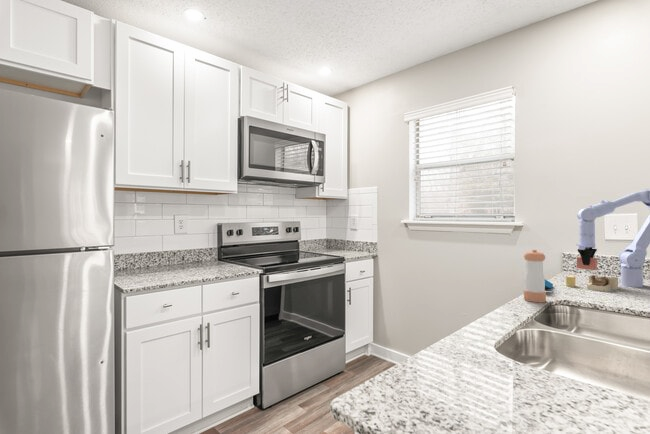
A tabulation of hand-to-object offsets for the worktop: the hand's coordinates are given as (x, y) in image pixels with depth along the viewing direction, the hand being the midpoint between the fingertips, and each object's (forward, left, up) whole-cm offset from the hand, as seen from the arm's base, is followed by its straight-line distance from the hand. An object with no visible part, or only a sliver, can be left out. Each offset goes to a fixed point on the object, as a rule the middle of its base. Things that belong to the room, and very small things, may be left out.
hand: (587, 264), depth 162 cm
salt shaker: (+48, -3, -10) cm, 49 cm away
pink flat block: (0, 0, -2) cm, 2 cm away
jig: (+8, +7, -9) cm, 14 cm away
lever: (+29, -9, -10) cm, 32 cm away
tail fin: (+12, -3, -9) cm, 15 cm away
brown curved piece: (+8, +7, -9) cm, 13 cm away
